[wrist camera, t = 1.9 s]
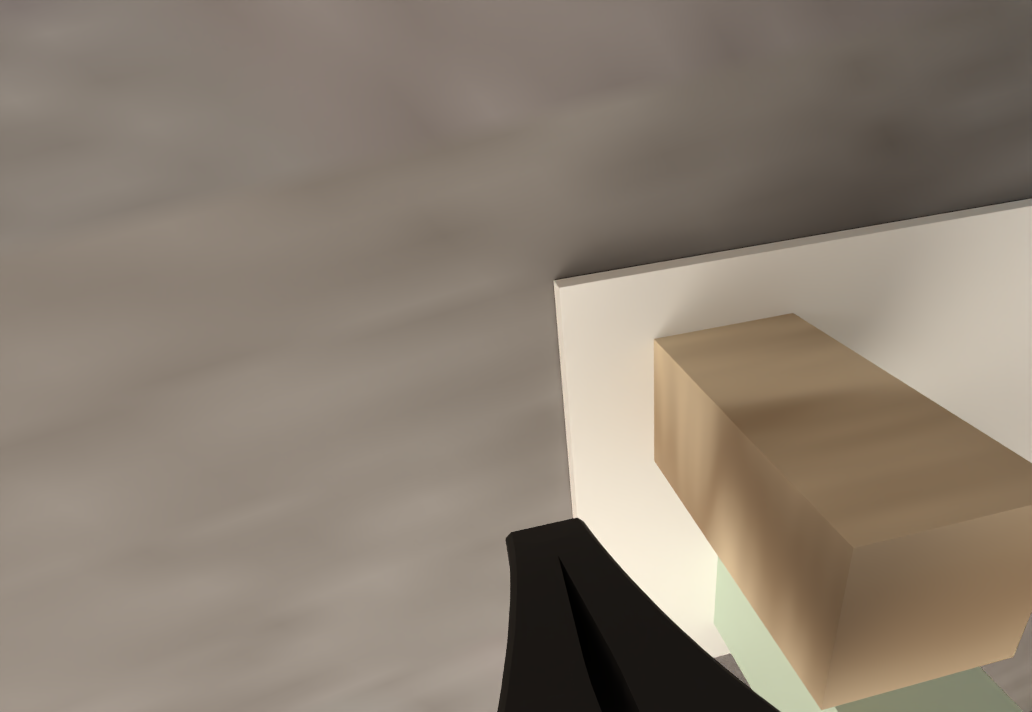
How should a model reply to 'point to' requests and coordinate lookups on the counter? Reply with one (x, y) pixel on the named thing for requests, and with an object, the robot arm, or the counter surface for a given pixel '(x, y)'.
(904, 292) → the mat
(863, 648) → the oak block
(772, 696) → the sage block
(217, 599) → the counter surface
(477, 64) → the counter surface
